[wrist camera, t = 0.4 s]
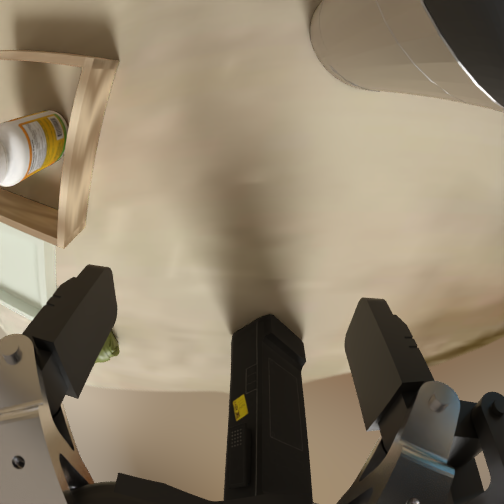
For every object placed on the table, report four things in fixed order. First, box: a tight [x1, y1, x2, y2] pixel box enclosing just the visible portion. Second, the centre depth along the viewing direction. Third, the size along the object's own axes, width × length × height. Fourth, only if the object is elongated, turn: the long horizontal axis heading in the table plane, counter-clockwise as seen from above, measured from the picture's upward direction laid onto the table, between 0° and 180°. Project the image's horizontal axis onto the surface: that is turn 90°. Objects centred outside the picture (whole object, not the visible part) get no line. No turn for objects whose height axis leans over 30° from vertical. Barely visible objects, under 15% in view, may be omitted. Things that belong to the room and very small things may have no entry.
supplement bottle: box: [0, 110, 68, 187], centre depth 19 cm, size 5×5×10 cm
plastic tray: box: [0, 222, 57, 321], centre depth 29 cm, size 14×14×2 cm
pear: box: [95, 331, 119, 363], centre depth 34 cm, size 6×5×10 cm
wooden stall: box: [0, 50, 119, 249], centre depth 21 cm, size 17×13×4 cm
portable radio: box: [224, 315, 314, 503], centre depth 24 cm, size 8×6×25 cm
